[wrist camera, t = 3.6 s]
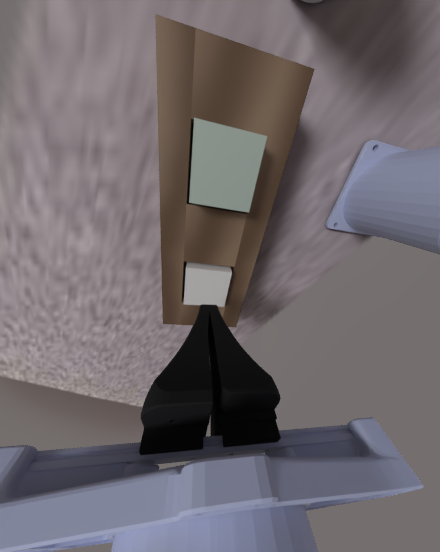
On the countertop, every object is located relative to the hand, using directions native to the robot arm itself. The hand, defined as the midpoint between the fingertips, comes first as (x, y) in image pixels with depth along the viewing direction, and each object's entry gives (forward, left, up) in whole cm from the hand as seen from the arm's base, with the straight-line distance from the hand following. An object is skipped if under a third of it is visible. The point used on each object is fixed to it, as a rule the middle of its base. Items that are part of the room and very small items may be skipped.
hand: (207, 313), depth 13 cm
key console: (0, -5, -8) cm, 10 cm away
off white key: (0, 0, -7) cm, 7 cm away
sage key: (0, -10, -6) cm, 12 cm away
